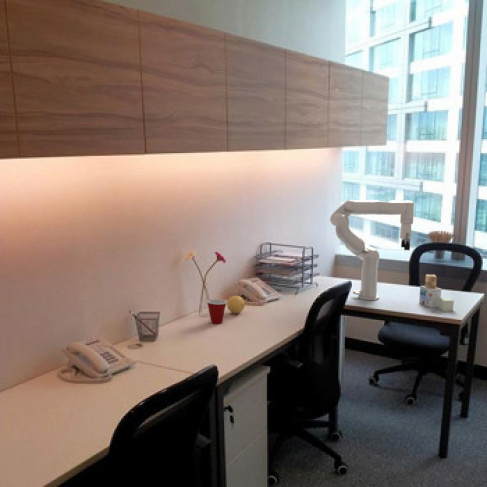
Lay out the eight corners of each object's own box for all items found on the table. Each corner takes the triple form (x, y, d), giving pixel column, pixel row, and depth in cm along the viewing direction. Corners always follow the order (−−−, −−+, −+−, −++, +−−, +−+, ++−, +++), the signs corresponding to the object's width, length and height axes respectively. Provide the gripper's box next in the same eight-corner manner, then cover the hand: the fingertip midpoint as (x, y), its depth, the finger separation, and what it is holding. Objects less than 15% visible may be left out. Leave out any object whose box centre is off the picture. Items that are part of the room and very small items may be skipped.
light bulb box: (418, 303, 309) (419, 285, 307) (427, 301, 312) (428, 284, 310) (431, 307, 300) (433, 289, 298) (440, 306, 302) (441, 288, 301)
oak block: (426, 288, 302) (427, 276, 301) (425, 286, 307) (425, 274, 306) (435, 288, 301) (436, 276, 300) (433, 286, 306) (434, 274, 305)
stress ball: (230, 317, 286) (243, 307, 282) (220, 302, 288) (233, 292, 285) (238, 315, 295) (251, 306, 291) (229, 301, 297) (241, 291, 294)
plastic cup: (231, 322, 275) (231, 300, 273) (217, 327, 267) (217, 304, 265) (216, 318, 282) (216, 296, 280) (202, 322, 274) (202, 301, 272)
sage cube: (442, 310, 294) (443, 300, 293) (438, 307, 300) (438, 297, 299) (453, 310, 294) (453, 300, 293) (448, 307, 300) (449, 297, 299)
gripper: (397, 219, 326) (396, 246, 328) (403, 222, 309) (401, 251, 312) (410, 219, 325) (408, 246, 328) (416, 223, 308) (414, 251, 311)
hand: (405, 248), depth 320 cm, fingers open, 9 cm apart
